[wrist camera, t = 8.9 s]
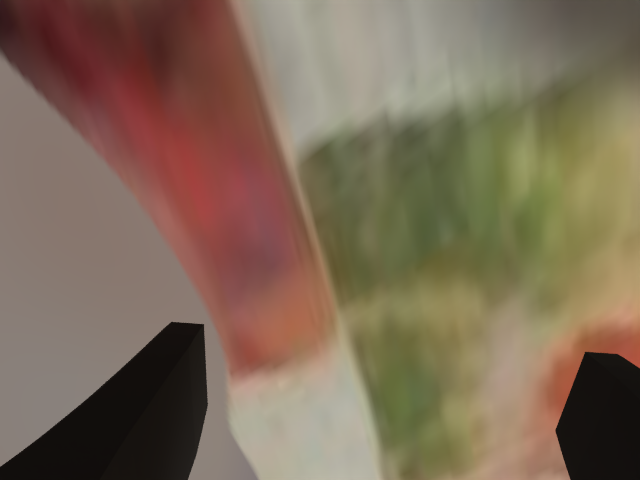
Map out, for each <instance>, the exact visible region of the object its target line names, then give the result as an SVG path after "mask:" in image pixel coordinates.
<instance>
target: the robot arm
mask: <svg viewBox="0 0 640 480" xmlns="http://www.w3.org/2000/svg"><path fill="white" fill-rule="evenodd" d="M205 362H206V360H205V340H204V324H192V323H179V322H171V323H170V324H169V325H167V326H166V327H165V328H164V329H163V330H162V331H161V332H160V333H159V334H158V335H157V336H156V337H154V338H153V339H152V340H151V341H150V342H149V343H148V344H147V345H146V346H145V347H144V348H143V349H142V350H141V351H140V352H139V353H137V355H135V356H134V357H133V358H132V359H131V360H130V361H129V362H128V363H127V364H126V365H125V366H124V367H122V368H121V369H120V370H119V371H118V372H117V373H116V374H115V375H114V376H112V377H111V378H110V379H109V380H108V381H107V382H106V383H105V384H103V385H102V386H101V387H100V388H99V389H98V390H97V391H96V392H95V393H93V394H92V395H91V396H90V397H89V398H88V399H87V400H85V401H84V402H83V403H82V404H81V405H79V406H78V407H77V408H76V409H74V410H73V411H72V412H71V413H70V414H68V415H67V416H66V417H65V418H63V419H62V420H61V421H60V422H58V423H57V424H56V425H55V426H53V427H52V428H51V429H50V430H49V431H47V432H46V433H45V434H44V435H42V436H41V437H40V438H39V439H37V440H36V441H35V442H33V443H32V444H31V445H30V446H28V447H27V448H25V449H24V450H23V451H21V452H20V453H19V454H18V455H16V456H15V457H13V458H12V459H11V460H9V461H8V462H6V463H5V464H4V465H2V466H1V467H0V480H188V477H189V474H190V472H191V468H192V466H193V463H194V460H195V457H196V454H197V449H198V445H199V441H200V437H201V433H202V428H203V424H204V420H205V415H206V411H207V406H208V403H207V384H206V383H207V382H206V363H205ZM555 431H556V434H557V438H558V441H559V444H560V448H561V451H562V455H563V458H564V461H565V464H566V467H567V470H568V473H569V476H570V479H571V480H640V368H638V367H637V366H635V365H634V364H632V363H631V362H629V361H628V360H626V359H625V358H623V357H621V356H620V355H618V354H608V353H594V352H585V354H584V357H583V359H582V362H581V365H580V367H579V370H578V373H577V375H576V378H575V380H574V383H573V386H572V388H571V391H570V394H569V396H568V399H567V401H566V404H565V407H564V409H563V412H562V415H561V417H560V420H559V422H558V425H557V428H556V430H555Z"/></svg>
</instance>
